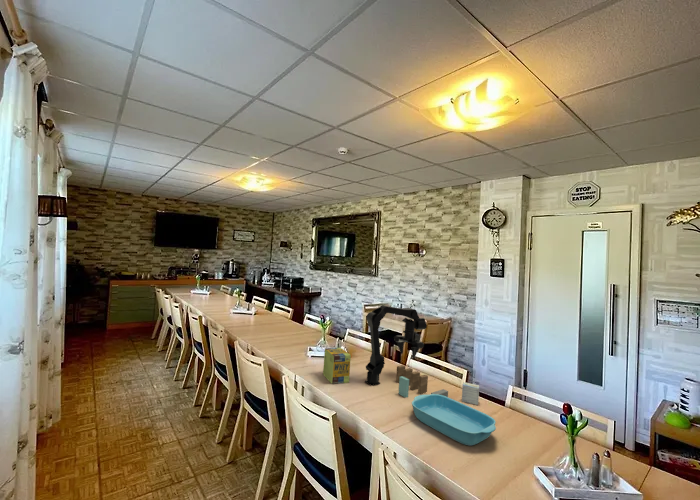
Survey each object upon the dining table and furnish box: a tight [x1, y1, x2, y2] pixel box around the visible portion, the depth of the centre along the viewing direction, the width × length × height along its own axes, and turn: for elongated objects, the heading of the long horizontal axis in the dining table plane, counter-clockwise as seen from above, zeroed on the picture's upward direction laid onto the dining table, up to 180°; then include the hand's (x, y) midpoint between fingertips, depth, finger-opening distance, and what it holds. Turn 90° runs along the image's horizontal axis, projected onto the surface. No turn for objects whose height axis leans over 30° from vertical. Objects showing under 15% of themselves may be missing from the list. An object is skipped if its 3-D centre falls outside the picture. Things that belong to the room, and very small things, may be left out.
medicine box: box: [461, 381, 480, 406], centre depth 162 cm, size 8×4×9 cm, turn 65°
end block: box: [430, 388, 449, 398], centre depth 161 cm, size 10×3×4 cm, turn 126°
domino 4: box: [417, 374, 429, 395], centre depth 170 cm, size 2×5×9 cm, turn 126°
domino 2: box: [403, 367, 414, 387], centre depth 179 cm, size 2×5×9 cm, turn 126°
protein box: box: [322, 347, 352, 385], centre depth 182 cm, size 10×15×16 cm
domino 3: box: [409, 370, 421, 391], centre depth 174 cm, size 2×5×9 cm, turn 126°
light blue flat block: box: [398, 376, 410, 398], centre depth 165 cm, size 2×5×9 cm, turn 36°
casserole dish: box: [411, 393, 497, 446], centre depth 137 cm, size 37×22×7 cm, turn 39°
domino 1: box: [395, 364, 406, 384], centre depth 183 cm, size 2×5×9 cm, turn 126°
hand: (407, 356), depth 188 cm, fingers open, 9 cm apart
